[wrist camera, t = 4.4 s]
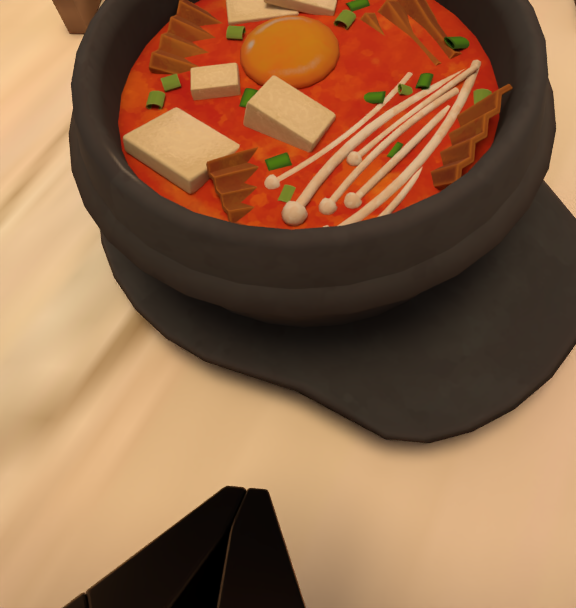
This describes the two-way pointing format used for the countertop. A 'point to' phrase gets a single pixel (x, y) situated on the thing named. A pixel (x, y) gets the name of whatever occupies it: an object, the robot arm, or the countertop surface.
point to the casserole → (335, 197)
